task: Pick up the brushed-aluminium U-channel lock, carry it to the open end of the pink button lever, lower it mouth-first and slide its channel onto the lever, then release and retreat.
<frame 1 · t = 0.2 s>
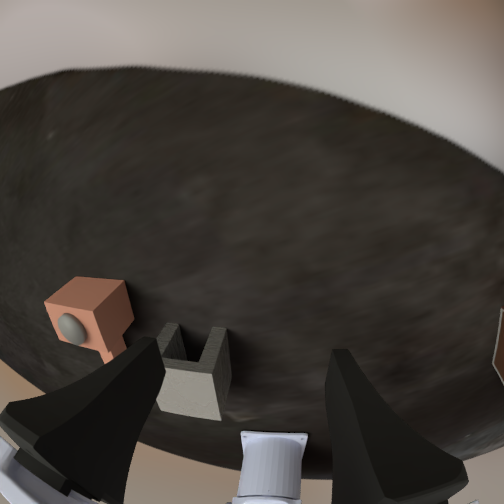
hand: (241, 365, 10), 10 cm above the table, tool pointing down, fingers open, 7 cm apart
pink button lever: (123, 353, 25), on the table
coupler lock: (200, 351, 24), on the table
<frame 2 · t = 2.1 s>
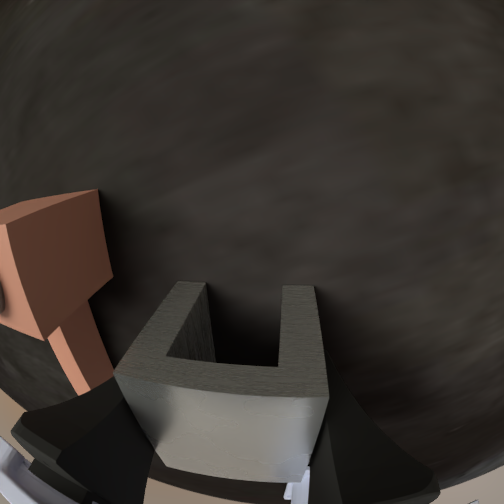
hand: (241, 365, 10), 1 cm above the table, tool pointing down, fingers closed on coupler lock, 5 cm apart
pink button lever: (96, 349, 14), on the table
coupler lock: (246, 343, 12), on the table, touching gripper
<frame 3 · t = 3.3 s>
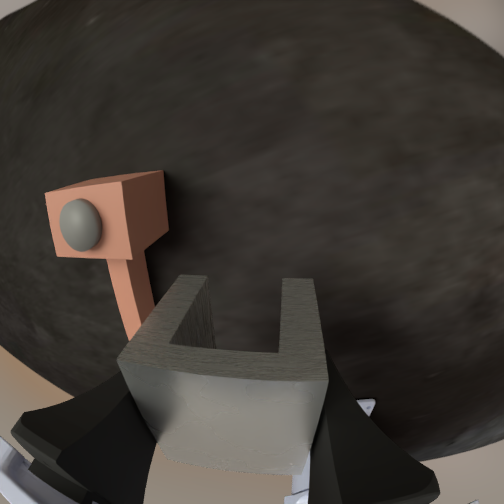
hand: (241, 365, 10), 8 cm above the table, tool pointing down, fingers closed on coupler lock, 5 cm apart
pink button lever: (143, 293, 20), on the table
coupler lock: (246, 336, 12), point 7 cm above the table, touching gripper
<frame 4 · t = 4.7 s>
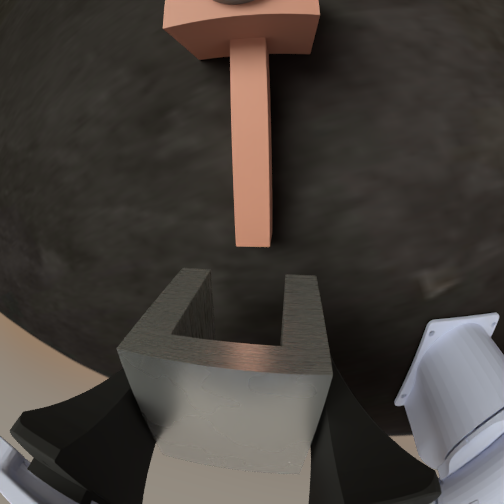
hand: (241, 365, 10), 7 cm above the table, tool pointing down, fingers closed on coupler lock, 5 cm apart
pink button lever: (256, 140, 14), on the table
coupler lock: (247, 332, 12), point 5 cm above the table, touching gripper
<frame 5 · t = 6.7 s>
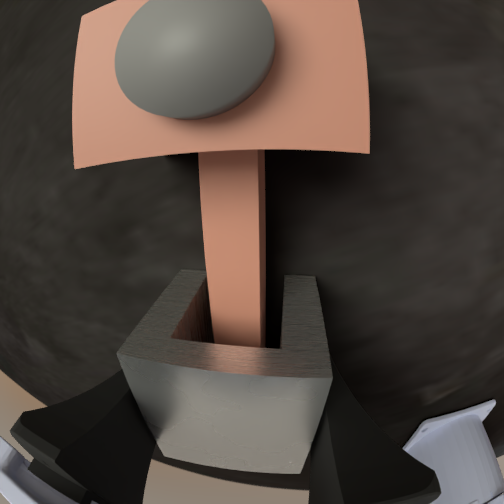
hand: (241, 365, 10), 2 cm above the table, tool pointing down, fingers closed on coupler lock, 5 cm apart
pink button lever: (245, 279, 11), on the table
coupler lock: (246, 333, 12), resting in pink button lever, touching gripper
when the fingers open (2 cm above the table, at t = 7.8 s): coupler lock stays where it is, resting in pink button lever.
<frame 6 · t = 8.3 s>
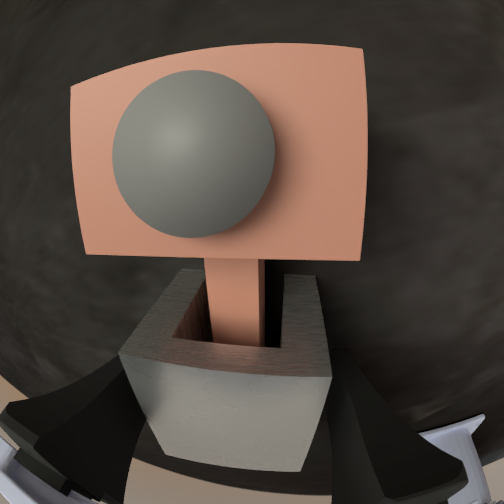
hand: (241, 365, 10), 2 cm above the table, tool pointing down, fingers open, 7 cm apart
pink button lever: (246, 320, 12), on the table
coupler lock: (247, 332, 12), resting in pink button lever
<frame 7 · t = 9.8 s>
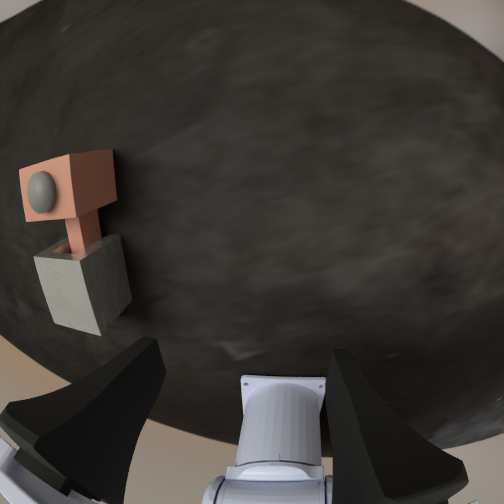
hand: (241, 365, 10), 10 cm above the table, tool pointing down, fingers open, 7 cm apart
pink button lever: (99, 259, 21), on the table
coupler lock: (101, 266, 22), resting in pink button lever
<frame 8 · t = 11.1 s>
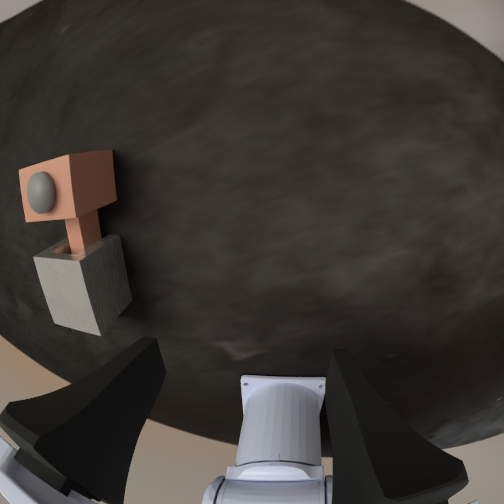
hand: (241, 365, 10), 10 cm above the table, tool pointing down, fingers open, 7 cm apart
pink button lever: (99, 259, 21), on the table
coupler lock: (101, 266, 22), resting in pink button lever
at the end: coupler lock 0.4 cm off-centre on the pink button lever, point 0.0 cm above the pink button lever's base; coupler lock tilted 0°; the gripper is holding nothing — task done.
